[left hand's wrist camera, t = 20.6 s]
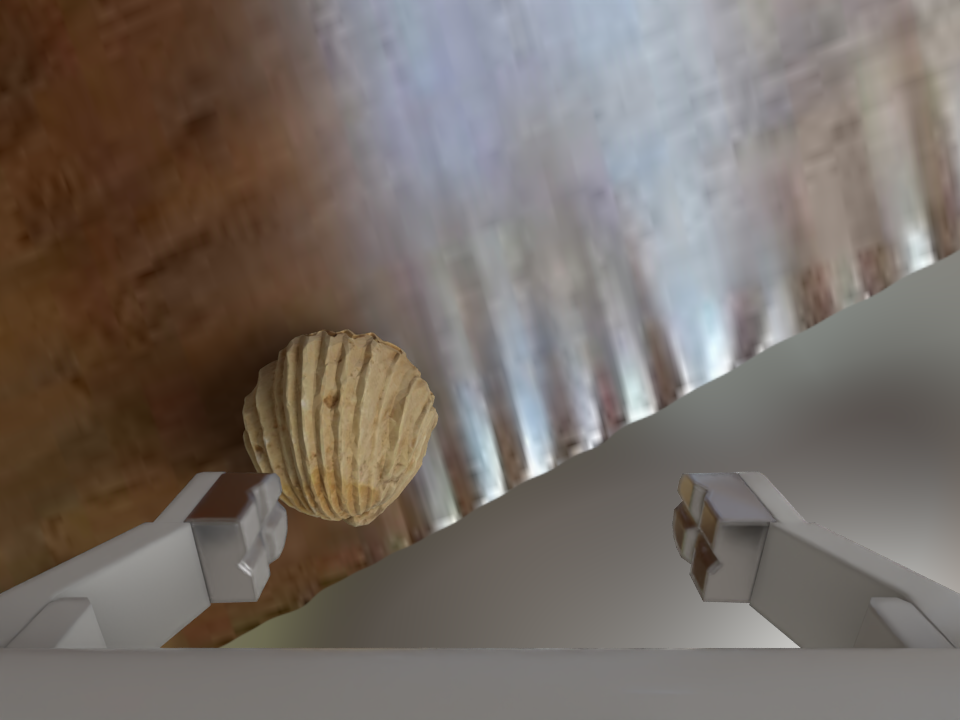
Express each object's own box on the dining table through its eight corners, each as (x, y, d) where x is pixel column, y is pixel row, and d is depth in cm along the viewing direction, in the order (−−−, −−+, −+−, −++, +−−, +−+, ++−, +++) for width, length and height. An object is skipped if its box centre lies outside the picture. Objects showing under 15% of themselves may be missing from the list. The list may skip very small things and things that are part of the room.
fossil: (303, 479, 52) (238, 597, 38) (257, 314, 46) (159, 384, 32) (452, 465, 52) (442, 580, 38) (426, 296, 45) (402, 359, 31)
